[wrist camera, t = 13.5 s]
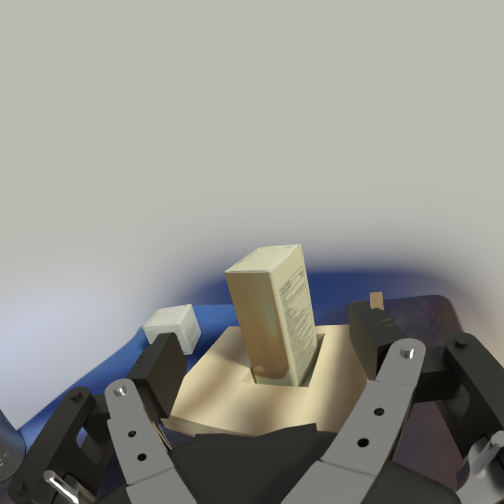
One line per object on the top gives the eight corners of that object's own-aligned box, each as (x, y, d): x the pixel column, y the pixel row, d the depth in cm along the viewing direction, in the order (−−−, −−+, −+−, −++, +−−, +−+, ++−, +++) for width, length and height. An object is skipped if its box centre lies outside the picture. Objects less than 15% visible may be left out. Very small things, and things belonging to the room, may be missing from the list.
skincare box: (283, 350, 29) (261, 245, 26) (320, 354, 27) (303, 242, 24) (254, 388, 24) (220, 269, 21) (296, 396, 22) (270, 268, 19)
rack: (165, 427, 20) (137, 380, 19) (233, 343, 34) (221, 301, 32) (376, 461, 13) (385, 410, 12) (382, 341, 26) (381, 291, 25)
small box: (167, 337, 39) (156, 308, 38) (202, 333, 38) (192, 302, 37) (154, 358, 33) (140, 327, 32) (193, 355, 33) (180, 322, 31)
